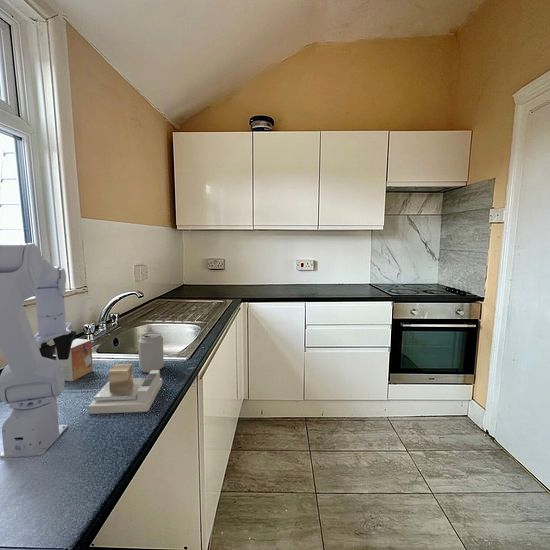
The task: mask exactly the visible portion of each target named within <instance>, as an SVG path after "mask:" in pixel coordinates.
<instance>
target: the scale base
mask: <svg viewBox="0 0 550 550" xmlns="http://www.w3.org/2000/svg"><path fill="white" fill-rule="evenodd" d="M160 372H161V370H151V371H150V373H147V374H148V375H147V376H146V377H145V378H146V379H145V380H144V382H143V383H142V385H141V386H140V388H139V389H138V391H137V395H138V397H137V398H136V399H133V400H105V401H94V400H92V402H91V403H90V404H89V405H88V414H89V415H90V414H92V415H93V414H94V415H95V414H115V413H117V414H118V413H138V412H139V413H143V412H144V413H145V412H146V413H147V412H149V410H150V408H151V406H152V404H153V403H154V401H155V399H156V397H157V395H158V393H159V391H160V389H161V387H162V385H163V378H162V377H161V373H160Z"/></svg>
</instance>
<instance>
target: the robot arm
mask: <svg viewBox="0 0 550 550" xmlns="http://www.w3.org/2000/svg"><path fill="white" fill-rule="evenodd" d="M66 283H67V273H66V270H65V268H64V267H63V268H62V267H61V266H59V265H58V266H54V265H53V264H52V263H51V262H49V261H48V260H47V259H45V258H44V256H43V255H42V251H41V249H40V248H39V246H37V244H36V243H35V242H28V243H0V349H1V353H2V354H3V356H4V358H5V360H6V362H7V365H6V366H5V367H4V368H3V369H2V371H1V373H0V400H1V401H2V402H3V403H4V404H5V405H9V407H8V408H9V409H12V411H11V413H10V415H9V416H8V417H7V418H6V419H5V421H4V422H3V423H2V426H1V437H2V446H3V451H2V452H1V453H0V458H15V457H33V456H42V455H43V454H45V453H46V452H47V450H48V449H49V448H50V447H51V446H52V445H53V444H54V443H55V442H56V441H57V440H58V439H59V437H60V436H61V435H62V434H64V432H65V431H66V429H67V428H69V425H68V424H59V413H58V397H60V395H61V394H62V393H63V392H64V389H65V384H66V383H65V382H66V381H65V373H64V369H63V368H62V367H61V366H60V365H59V364H58V361H56V359H53V357H54V356H53V355H54V353H55V351H56V350H57V356H58V359H59V360H67V359H68V358H69V354H70V349H71V345H72V342H73V340H75V339H76V336H77V331H76V330H73V322H67V321H66V320H67V319H66V309H65V308H66V307H65V305H66V304H65V295H66ZM31 297H35V298H34V299H35V308H36V310H35V311H36V321H37V322H36V323H37V333H36V334H34V331H33V328H32V325H31V323H30V320H29V317H28V315H27V312H26V309H25V306H24V302H25V301H26V300H29V298H31ZM52 340H53V341H52ZM50 341H52V342H53V344H54V345H50V344H49V342H50Z"/></svg>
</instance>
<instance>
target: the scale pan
mask: <svg viewBox="0 0 550 550" xmlns="http://www.w3.org/2000/svg"><path fill="white" fill-rule="evenodd" d="M145 379H146V377H133V384H132V385H131V387H130V388H129V390H128V391H110V388H109V380H108V381H107V382H106V383H105V384H104V385H103V387H102V388H101V389H100V390H99V391H98V392H97V393H96V394H95V396H94V397H93V401H105V400H133V399H136V398H137V397H138V395H137V391H138V389H139V388H140V386H141V385H142V383H143V382H144V380H145Z"/></svg>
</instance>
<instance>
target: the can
mask: <svg viewBox="0 0 550 550" xmlns="http://www.w3.org/2000/svg"><path fill="white" fill-rule="evenodd" d="M139 337H140V338H139V339H138V341H137V342H138V369H139V370H140V371H141V372H142V373H143V374H149V373H150V371H151V370H160V369H161V370H162V368H164V365H165V363H164V361H165V360H164V338H163V336H162V334H161V332H158V331H150V332H149V331H148V332H145V333H142V334H141V335H140V336H139ZM161 370H160V371H161Z"/></svg>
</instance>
